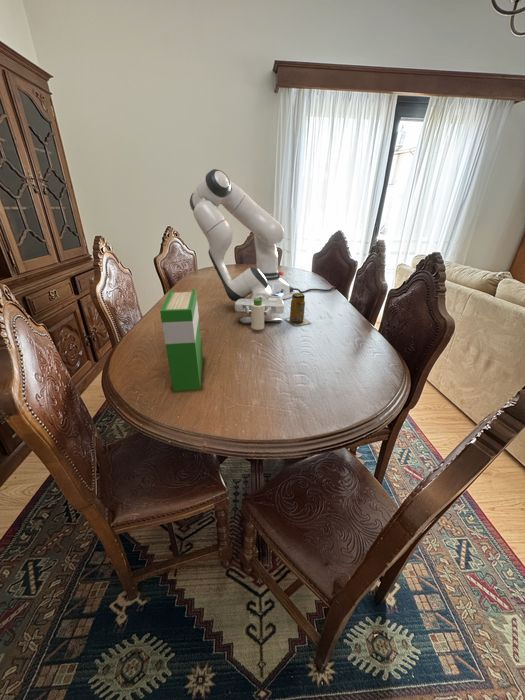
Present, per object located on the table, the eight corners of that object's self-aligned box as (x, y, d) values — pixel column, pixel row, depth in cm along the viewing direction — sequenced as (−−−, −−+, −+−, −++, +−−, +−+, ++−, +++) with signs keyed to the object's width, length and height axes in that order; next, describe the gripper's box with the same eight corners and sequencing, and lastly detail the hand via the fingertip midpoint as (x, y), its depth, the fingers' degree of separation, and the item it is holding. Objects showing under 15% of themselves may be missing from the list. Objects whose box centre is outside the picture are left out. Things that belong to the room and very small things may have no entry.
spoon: (281, 319, 129) (281, 316, 128) (282, 324, 123) (282, 321, 122) (240, 318, 128) (240, 315, 128) (239, 324, 123) (239, 321, 122)
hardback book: (180, 359, 96) (170, 289, 84) (202, 358, 97) (195, 289, 85) (173, 391, 80) (160, 310, 69) (200, 389, 81) (191, 309, 70)
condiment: (299, 317, 131) (301, 291, 126) (309, 323, 125) (312, 296, 119) (285, 319, 128) (286, 293, 123) (295, 326, 122) (297, 299, 116)
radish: (259, 323, 118) (260, 296, 113) (266, 328, 114) (267, 300, 109) (248, 326, 116) (248, 298, 110) (255, 330, 112) (255, 302, 106)
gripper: (236, 293, 123) (231, 304, 110) (284, 295, 121) (283, 306, 109) (237, 307, 126) (231, 319, 113) (283, 309, 124) (283, 321, 112)
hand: (257, 313), depth 111 cm, fingers closed on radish, 5 cm apart
